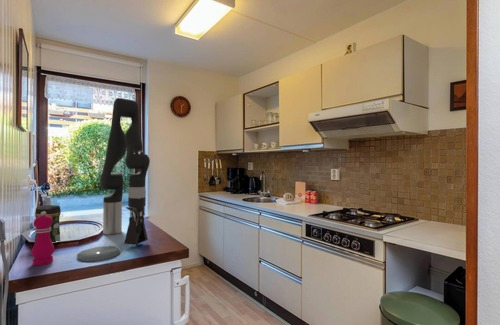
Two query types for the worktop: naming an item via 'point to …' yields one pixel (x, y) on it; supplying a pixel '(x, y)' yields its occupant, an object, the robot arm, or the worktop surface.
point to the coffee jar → (55, 214)
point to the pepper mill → (43, 240)
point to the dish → (98, 253)
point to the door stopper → (131, 234)
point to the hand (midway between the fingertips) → (136, 231)
